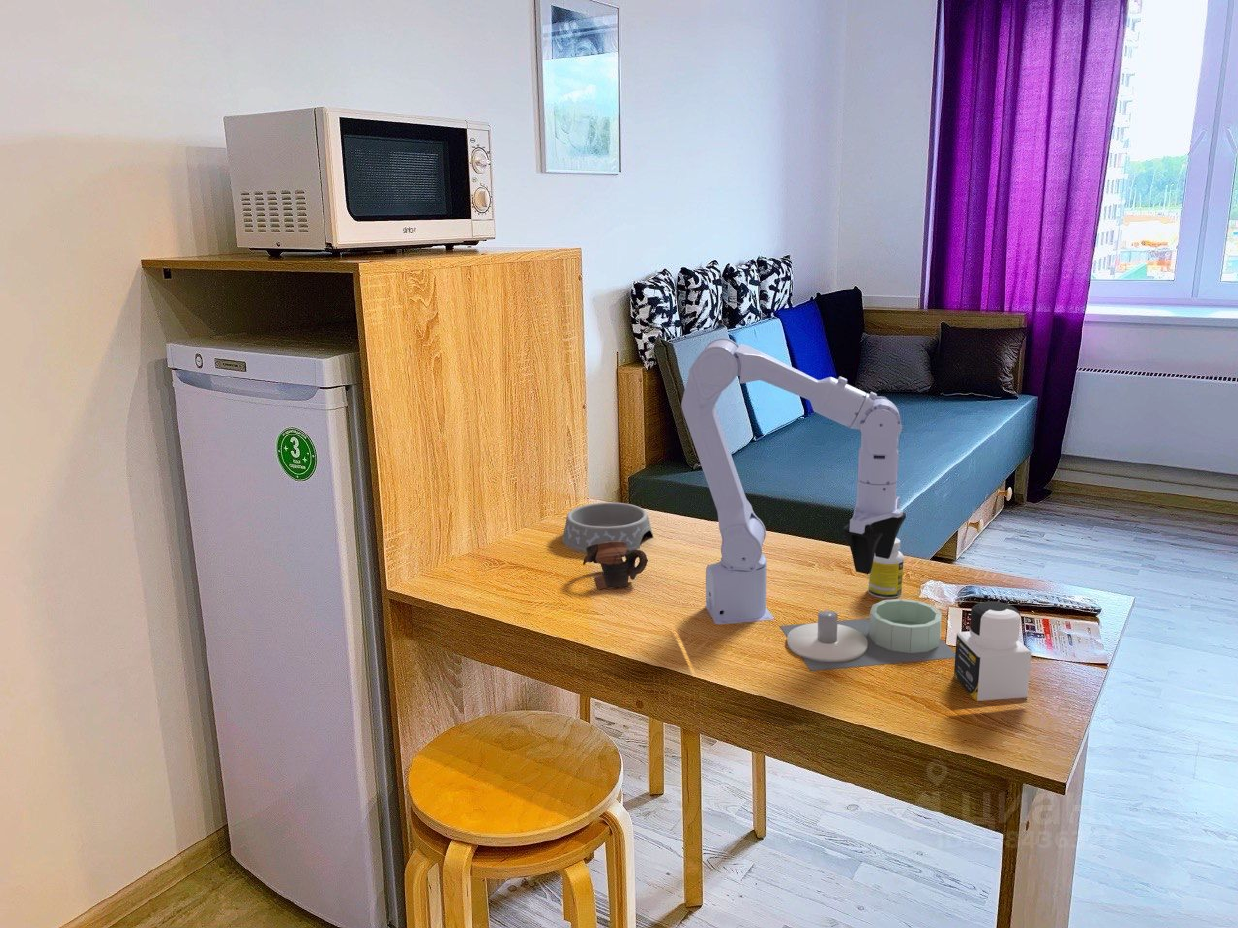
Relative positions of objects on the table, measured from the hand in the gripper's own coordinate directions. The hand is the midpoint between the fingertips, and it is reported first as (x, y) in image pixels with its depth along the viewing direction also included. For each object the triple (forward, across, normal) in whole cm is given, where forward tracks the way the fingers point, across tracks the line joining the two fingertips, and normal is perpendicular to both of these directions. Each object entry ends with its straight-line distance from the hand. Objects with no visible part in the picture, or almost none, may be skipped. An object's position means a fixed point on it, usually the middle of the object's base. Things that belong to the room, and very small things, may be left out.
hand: (872, 564), depth 148 cm
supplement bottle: (+10, +12, +2) cm, 15 cm away
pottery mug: (+10, -8, +44) cm, 46 cm away
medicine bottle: (+10, -11, -22) cm, 26 cm away
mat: (+10, -8, -2) cm, 13 cm away
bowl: (+9, -4, -7) cm, 12 cm away
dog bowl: (+10, +9, +59) cm, 60 cm away
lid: (+9, -12, +2) cm, 15 cm away
